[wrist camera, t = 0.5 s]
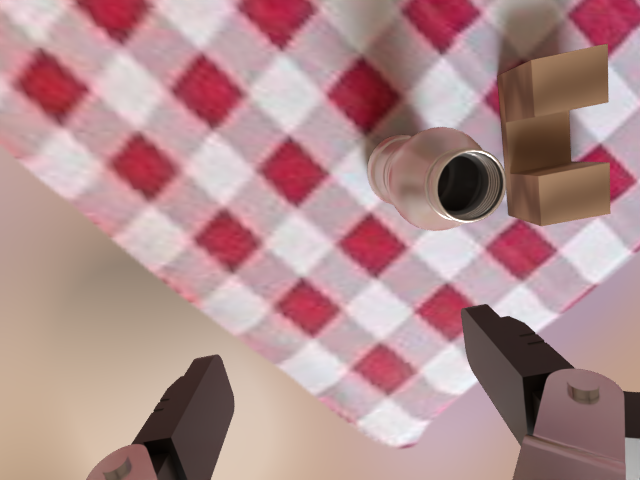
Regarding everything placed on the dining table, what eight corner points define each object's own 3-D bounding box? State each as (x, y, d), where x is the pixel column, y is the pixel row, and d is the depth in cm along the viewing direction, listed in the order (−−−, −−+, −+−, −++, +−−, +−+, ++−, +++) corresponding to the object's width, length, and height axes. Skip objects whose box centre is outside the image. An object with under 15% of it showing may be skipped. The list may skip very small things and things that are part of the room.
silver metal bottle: (422, 130, 36) (532, 101, 17) (430, 196, 38) (540, 239, 18) (359, 142, 37) (395, 129, 17) (370, 207, 38) (414, 261, 19)
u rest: (497, 75, 35) (531, 59, 29) (560, 62, 35) (607, 43, 29) (508, 215, 38) (541, 226, 32) (566, 204, 38) (610, 213, 32)
